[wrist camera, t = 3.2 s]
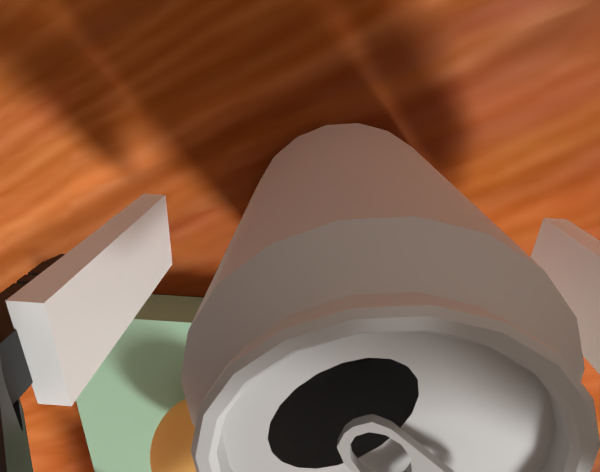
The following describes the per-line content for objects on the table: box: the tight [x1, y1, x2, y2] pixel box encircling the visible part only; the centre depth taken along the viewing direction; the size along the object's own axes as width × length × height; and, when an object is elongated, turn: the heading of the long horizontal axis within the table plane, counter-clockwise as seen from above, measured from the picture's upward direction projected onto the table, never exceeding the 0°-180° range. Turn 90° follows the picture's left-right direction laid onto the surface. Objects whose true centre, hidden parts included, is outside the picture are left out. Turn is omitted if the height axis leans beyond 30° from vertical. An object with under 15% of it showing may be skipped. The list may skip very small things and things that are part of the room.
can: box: [180, 123, 600, 472], centre depth 11 cm, size 8×8×12 cm
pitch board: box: [76, 294, 204, 472], centre depth 21 cm, size 13×12×2 cm
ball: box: [150, 399, 196, 472], centre depth 17 cm, size 4×4×4 cm
